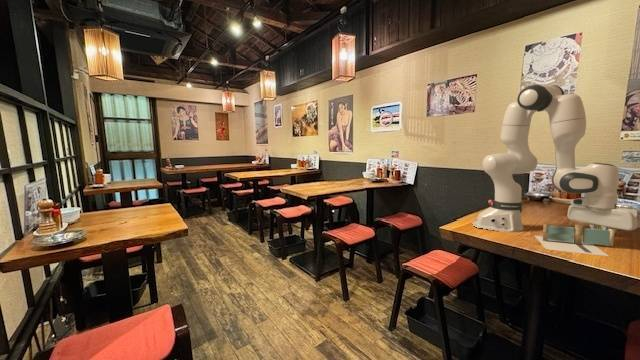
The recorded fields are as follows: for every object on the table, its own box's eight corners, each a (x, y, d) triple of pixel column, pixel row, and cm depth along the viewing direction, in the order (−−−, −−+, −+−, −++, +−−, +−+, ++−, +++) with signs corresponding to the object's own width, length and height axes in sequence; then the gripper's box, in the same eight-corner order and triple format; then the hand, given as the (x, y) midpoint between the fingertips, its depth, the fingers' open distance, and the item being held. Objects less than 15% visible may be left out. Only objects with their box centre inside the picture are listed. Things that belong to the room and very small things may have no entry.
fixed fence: (543, 241, 112) (544, 223, 111) (541, 239, 114) (542, 222, 114) (582, 245, 106) (584, 226, 106) (580, 243, 108) (581, 224, 108)
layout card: (546, 250, 104) (546, 249, 104) (533, 236, 120) (534, 235, 120) (609, 257, 95) (609, 256, 95) (586, 241, 112) (586, 240, 112)
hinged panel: (583, 243, 106) (585, 227, 106) (582, 242, 108) (583, 226, 107) (614, 246, 102) (615, 229, 102) (612, 244, 104) (613, 228, 103)
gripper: (643, 206, 97) (640, 242, 98) (575, 198, 116) (573, 228, 117) (633, 207, 95) (630, 244, 96) (565, 199, 114) (564, 229, 115)
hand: (598, 235), depth 107 cm, fingers closed
